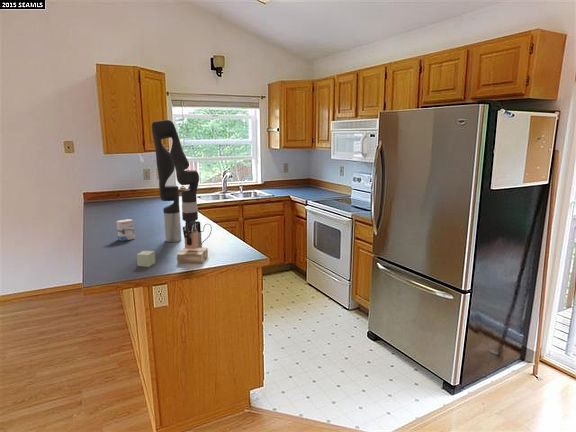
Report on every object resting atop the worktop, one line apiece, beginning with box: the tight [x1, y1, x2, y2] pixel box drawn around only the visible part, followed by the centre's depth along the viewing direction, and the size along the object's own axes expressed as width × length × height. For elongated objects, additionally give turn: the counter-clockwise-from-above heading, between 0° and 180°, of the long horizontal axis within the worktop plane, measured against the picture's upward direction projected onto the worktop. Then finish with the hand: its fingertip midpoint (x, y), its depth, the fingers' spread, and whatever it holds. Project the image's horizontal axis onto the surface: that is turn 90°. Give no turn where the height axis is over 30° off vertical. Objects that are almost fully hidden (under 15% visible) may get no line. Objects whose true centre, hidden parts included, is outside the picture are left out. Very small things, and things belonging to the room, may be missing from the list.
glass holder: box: [196, 221, 212, 248], centre depth 211 cm, size 9×14×15 cm, turn 111°
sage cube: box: [136, 250, 156, 268], centre depth 185 cm, size 6×6×6 cm
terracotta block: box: [183, 231, 198, 249], centre depth 191 cm, size 5×5×8 cm
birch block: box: [176, 247, 209, 265], centre depth 192 cm, size 12×12×5 cm
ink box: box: [116, 218, 136, 242], centre depth 229 cm, size 9×5×12 cm, turn 135°
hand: (191, 243), depth 191 cm, fingers closed on terracotta block, 5 cm apart
